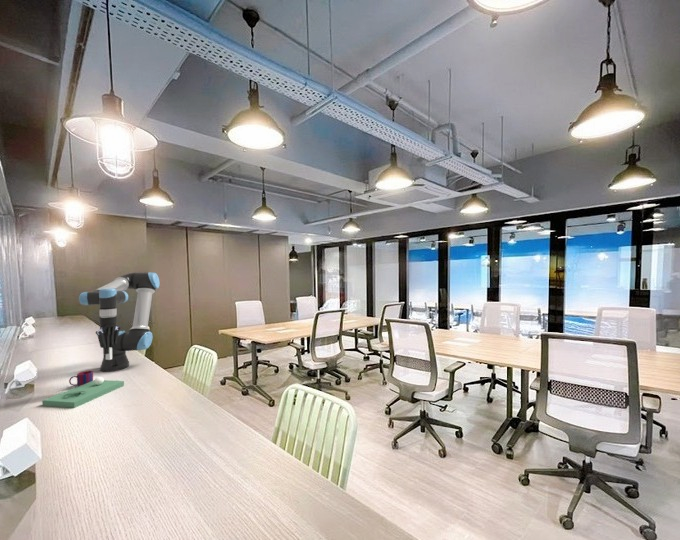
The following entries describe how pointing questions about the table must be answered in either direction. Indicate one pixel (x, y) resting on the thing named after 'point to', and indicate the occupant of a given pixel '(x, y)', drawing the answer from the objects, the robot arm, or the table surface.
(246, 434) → the table surface
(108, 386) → the green
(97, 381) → the ball
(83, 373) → the mug
